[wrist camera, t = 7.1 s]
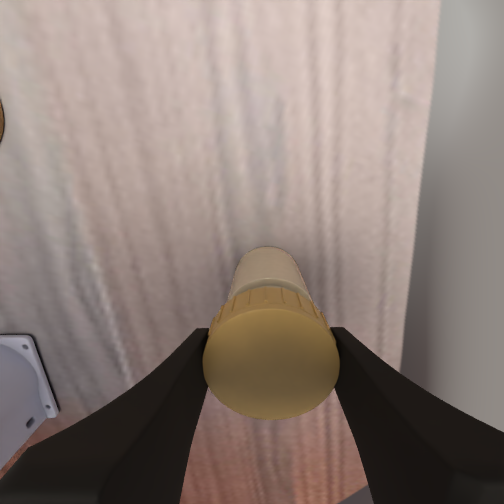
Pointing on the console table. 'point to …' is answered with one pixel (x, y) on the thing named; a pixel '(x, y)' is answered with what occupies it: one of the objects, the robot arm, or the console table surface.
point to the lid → (270, 354)
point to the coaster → (1, 121)
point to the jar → (268, 272)
